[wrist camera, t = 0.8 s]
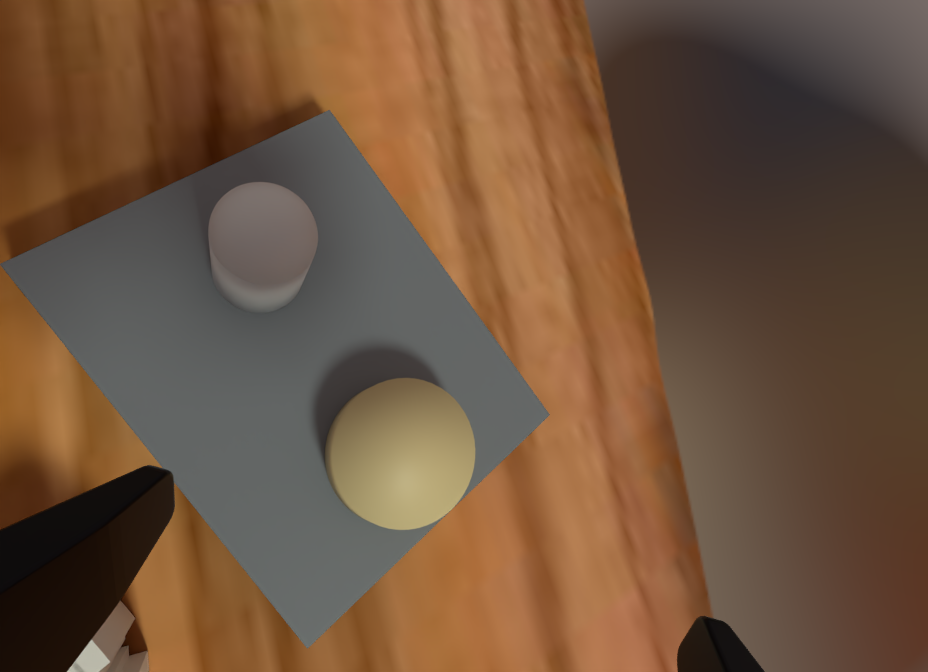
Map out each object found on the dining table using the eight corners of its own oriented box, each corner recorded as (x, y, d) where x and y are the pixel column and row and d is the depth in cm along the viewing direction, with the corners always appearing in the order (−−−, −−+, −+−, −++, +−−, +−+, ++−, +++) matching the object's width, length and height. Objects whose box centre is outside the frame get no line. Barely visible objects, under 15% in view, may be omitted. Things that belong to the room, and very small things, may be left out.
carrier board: (301, 634, 19) (335, 716, 13) (17, 278, 18) (-88, 191, 12) (531, 417, 24) (629, 405, 18) (323, 130, 23) (356, 18, 17)
